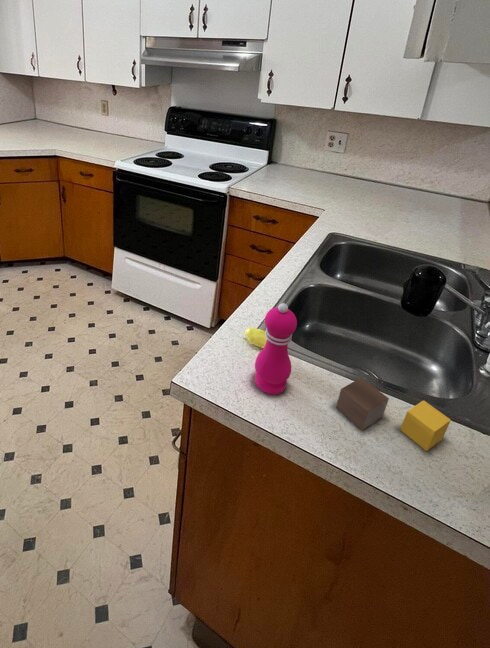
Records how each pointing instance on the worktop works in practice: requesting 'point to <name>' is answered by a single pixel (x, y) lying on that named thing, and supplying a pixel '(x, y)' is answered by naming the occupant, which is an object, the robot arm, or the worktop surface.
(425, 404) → the mustard block
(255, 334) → the lemon
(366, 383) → the walnut block
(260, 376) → the pepper mill
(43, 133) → the worktop surface
